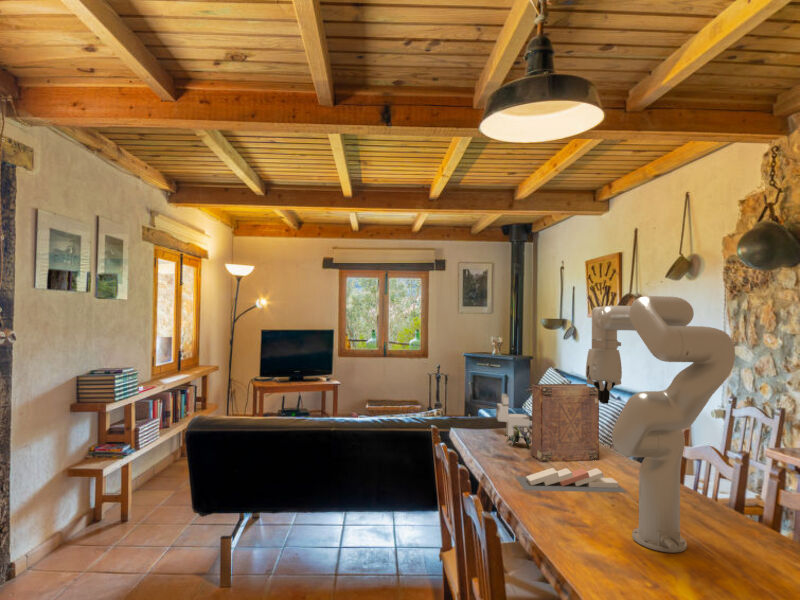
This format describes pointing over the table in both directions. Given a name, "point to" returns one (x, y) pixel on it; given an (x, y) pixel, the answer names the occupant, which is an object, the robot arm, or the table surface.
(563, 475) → the domino
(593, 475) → the domino
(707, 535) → the table surface
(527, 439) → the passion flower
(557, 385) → the book
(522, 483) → the domino mat
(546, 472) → the domino
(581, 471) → the domino
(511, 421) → the toy llama
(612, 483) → the domino
